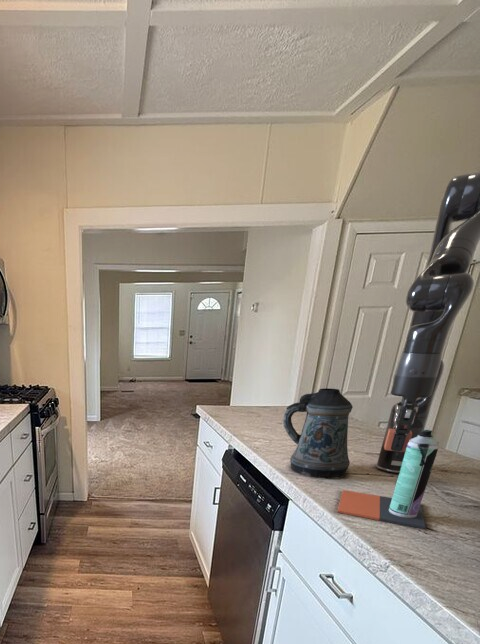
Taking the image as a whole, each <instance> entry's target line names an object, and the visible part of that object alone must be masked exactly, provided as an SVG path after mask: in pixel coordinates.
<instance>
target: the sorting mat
mask: <svg viewBox="0 0 480 644" xmlns="http://www.w3.org/2000/svg"><path fill="white" fill-rule="evenodd" d="M391 500H392V497H390V496H389V497H387V496H382V495H376V494H371V493H364V492H359V491H352V490H345V489H342V492H341V496H340V500H339V504H338V508H337V513H338V514H343V515H349V516H354V517H359V518H365V519H370V520H375V521H380V522H385V523H391V524H396V525H400V526H407V527H411V528H416V529H420V530H422V529H423V530H425V529H426V522H425V517H424V513H423V509H422V503H421V504H420V507H419V511H418V514H417V516H416V517H414V518H405V517H400V516H396V515H394V514H392V513H390V512H389V507H390V504H391Z"/></svg>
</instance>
